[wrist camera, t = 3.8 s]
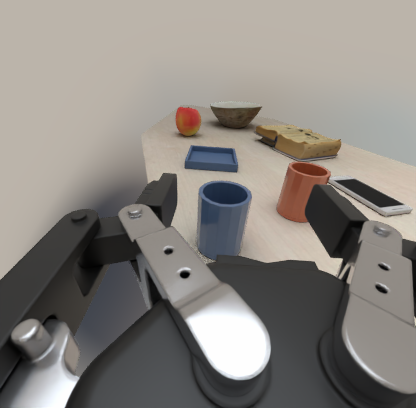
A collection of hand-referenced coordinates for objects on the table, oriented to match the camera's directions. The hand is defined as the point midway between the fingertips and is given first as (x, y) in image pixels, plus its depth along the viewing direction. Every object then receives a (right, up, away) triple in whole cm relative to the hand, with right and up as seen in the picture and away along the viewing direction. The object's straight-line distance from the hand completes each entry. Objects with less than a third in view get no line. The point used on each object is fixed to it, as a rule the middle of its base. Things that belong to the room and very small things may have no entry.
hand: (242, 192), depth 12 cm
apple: (-10, +26, +67) cm, 73 cm away
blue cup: (0, -6, +17) cm, 18 cm away
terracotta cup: (+14, -2, +26) cm, 29 cm away
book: (+28, +19, +61) cm, 70 cm away
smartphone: (+32, +1, +33) cm, 46 cm away
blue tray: (-1, +11, +45) cm, 47 cm away
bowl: (+10, +37, +87) cm, 96 cm away
